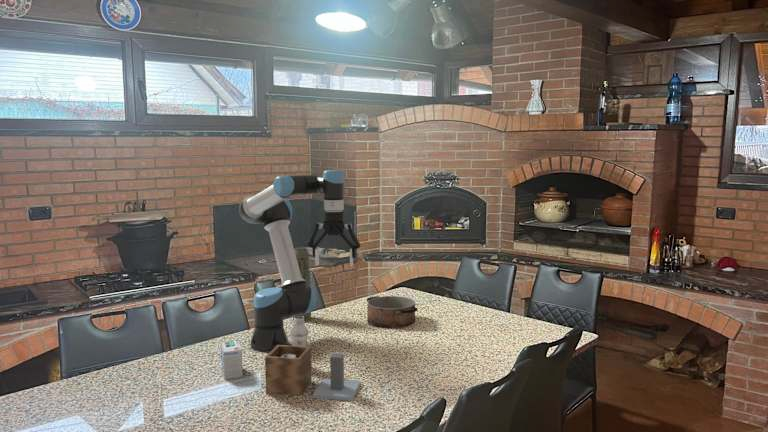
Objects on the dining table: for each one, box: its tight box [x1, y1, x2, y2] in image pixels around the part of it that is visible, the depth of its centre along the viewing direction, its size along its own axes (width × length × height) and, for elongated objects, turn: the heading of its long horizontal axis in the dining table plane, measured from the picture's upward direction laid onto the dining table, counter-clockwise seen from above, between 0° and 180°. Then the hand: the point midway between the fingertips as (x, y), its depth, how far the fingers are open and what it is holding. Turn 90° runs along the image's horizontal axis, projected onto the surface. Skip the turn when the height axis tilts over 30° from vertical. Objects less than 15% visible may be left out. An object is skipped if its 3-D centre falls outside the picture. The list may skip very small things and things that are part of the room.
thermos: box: [292, 247, 312, 322], centre depth 269 cm, size 9×12×35 cm
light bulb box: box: [220, 340, 244, 380], centre depth 204 cm, size 11×7×11 cm, turn 21°
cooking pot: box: [366, 295, 418, 329], centre depth 264 cm, size 30×22×11 cm
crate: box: [264, 345, 312, 396], centre depth 190 cm, size 12×12×14 cm
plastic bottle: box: [290, 316, 309, 347], centre depth 208 cm, size 6×7×20 cm
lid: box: [312, 353, 361, 402], centre depth 187 cm, size 13×13×13 cm
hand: (334, 265), depth 217 cm, fingers open, 13 cm apart
